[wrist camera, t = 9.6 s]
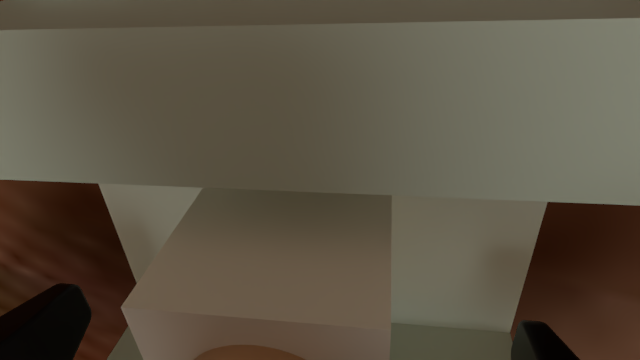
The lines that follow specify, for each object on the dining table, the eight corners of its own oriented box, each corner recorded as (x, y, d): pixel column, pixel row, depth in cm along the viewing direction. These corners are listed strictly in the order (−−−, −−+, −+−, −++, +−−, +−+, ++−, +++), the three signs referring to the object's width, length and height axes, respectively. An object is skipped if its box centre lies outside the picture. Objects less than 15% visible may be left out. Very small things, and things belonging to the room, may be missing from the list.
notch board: (597, -81, 8) (789, -76, 4) (484, 365, 14) (515, 519, 11) (50, -54, 9) (-177, -31, 6) (181, 336, 16) (119, 461, 12)
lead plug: (391, 164, 10) (390, 401, 5) (386, 291, 12) (381, 539, 7) (222, 160, 10) (79, 367, 6) (246, 281, 12) (157, 503, 8)
